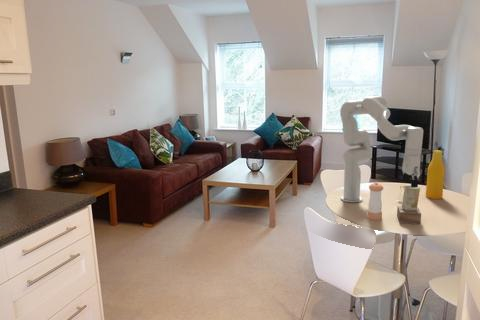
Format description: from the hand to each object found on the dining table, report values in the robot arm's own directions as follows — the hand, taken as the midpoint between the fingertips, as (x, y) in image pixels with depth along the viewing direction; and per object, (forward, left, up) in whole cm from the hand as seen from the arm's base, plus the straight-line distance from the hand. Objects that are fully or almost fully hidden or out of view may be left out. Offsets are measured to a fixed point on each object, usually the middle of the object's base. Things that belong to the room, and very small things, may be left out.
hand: (409, 184), depth 198 cm
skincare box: (0, +1, -13) cm, 13 cm away
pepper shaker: (-5, -16, -19) cm, 25 cm away
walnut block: (+1, 0, -19) cm, 19 cm away
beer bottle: (-36, +32, -19) cm, 52 cm away
